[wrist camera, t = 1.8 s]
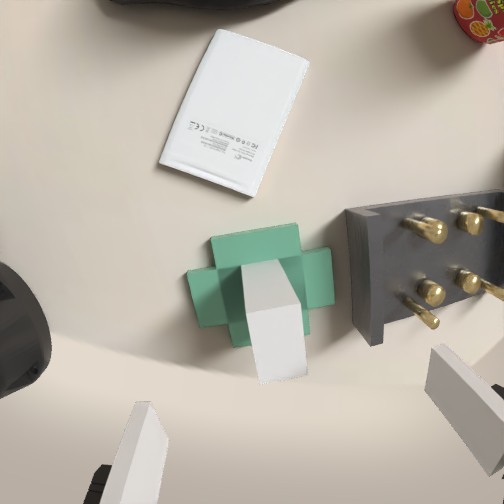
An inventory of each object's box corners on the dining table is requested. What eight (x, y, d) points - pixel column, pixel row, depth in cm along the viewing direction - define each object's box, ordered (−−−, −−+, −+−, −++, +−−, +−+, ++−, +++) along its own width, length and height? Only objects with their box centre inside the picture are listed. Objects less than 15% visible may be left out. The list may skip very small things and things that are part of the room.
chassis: (352, 323, 29) (379, 359, 22) (345, 209, 26) (378, 220, 20) (495, 280, 29) (530, 299, 23) (498, 189, 26) (539, 196, 20)
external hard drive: (306, 67, 23) (253, 196, 26) (217, 35, 22) (161, 163, 25) (311, 61, 22) (254, 198, 24) (216, 27, 20) (156, 162, 23)
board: (207, 344, 28) (198, 420, 19) (182, 241, 26) (153, 283, 16) (332, 322, 29) (373, 387, 19) (323, 218, 26) (374, 245, 16)
